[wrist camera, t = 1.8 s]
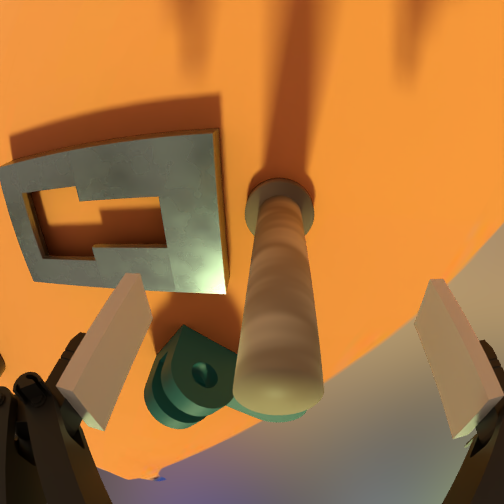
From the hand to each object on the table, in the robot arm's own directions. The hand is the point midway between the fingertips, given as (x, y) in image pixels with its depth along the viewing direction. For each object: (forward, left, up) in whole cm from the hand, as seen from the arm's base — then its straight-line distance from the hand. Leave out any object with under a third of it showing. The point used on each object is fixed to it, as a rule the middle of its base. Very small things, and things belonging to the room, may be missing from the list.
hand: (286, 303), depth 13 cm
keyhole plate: (-14, 0, -10) cm, 18 cm away
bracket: (-4, -20, -11) cm, 23 cm away
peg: (0, 0, -10) cm, 10 cm away
